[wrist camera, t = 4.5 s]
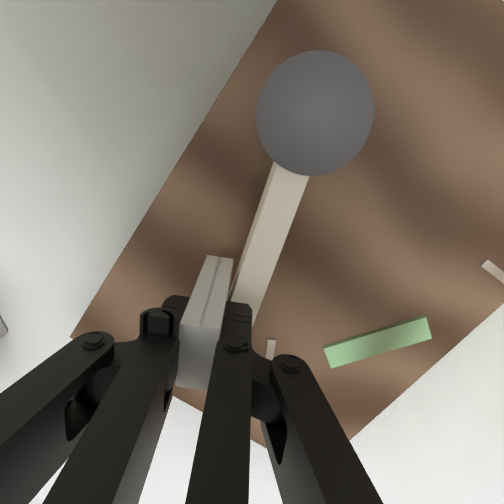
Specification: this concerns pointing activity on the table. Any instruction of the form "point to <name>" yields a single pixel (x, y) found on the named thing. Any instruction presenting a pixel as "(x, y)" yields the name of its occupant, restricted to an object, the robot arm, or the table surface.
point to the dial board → (347, 204)
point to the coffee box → (2, 329)
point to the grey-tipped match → (300, 151)
